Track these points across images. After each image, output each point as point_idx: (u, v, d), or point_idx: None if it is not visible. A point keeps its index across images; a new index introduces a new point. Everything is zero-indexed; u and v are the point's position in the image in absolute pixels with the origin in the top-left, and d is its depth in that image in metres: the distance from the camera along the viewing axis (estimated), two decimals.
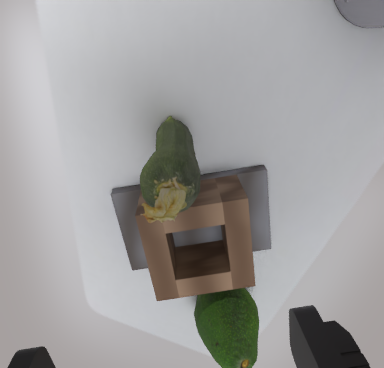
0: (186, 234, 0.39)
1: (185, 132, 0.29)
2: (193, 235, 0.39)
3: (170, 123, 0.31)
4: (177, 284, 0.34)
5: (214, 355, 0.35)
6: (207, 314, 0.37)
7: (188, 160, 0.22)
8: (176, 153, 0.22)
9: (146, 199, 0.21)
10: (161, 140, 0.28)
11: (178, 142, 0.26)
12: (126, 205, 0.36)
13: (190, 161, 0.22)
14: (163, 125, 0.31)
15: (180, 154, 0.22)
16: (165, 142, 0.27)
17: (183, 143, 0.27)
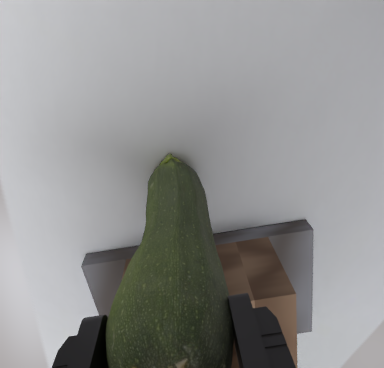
0: None
1: (195, 189, 0.18)
2: None
3: (170, 171, 0.19)
4: None
5: None
6: None
7: (210, 294, 0.10)
8: (183, 277, 0.10)
9: None
10: (154, 207, 0.17)
11: (185, 218, 0.15)
12: (105, 280, 0.25)
13: (214, 295, 0.10)
14: (158, 173, 0.19)
15: (192, 277, 0.10)
16: (161, 215, 0.15)
17: (193, 217, 0.15)
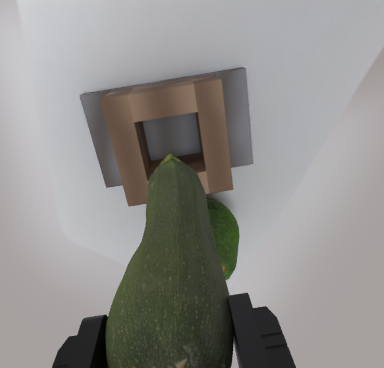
0: (162, 145, 0.36)
1: (195, 189, 0.18)
2: (170, 147, 0.36)
3: (170, 171, 0.19)
4: None
5: None
6: None
7: (209, 294, 0.10)
8: (183, 277, 0.10)
9: None
10: (154, 206, 0.17)
11: (185, 218, 0.15)
12: (97, 109, 0.34)
13: (213, 295, 0.10)
14: (158, 173, 0.19)
15: (192, 277, 0.10)
16: (161, 215, 0.15)
17: (193, 217, 0.15)
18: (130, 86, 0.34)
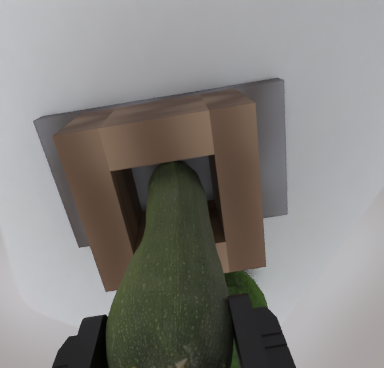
0: None
1: (195, 189, 0.18)
2: None
3: (170, 171, 0.19)
4: None
5: None
6: None
7: (209, 294, 0.10)
8: (183, 277, 0.10)
9: None
10: (155, 206, 0.17)
11: (185, 218, 0.15)
12: None
13: (213, 294, 0.10)
14: (159, 172, 0.19)
15: (192, 277, 0.10)
16: (161, 215, 0.15)
17: (193, 217, 0.15)
18: (110, 106, 0.23)
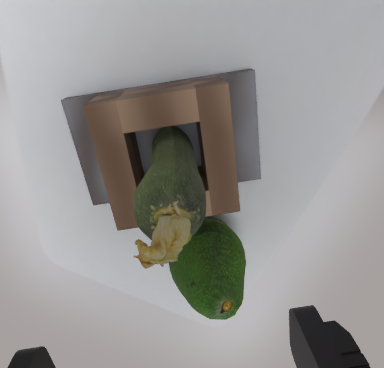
0: None
1: (185, 141, 0.26)
2: None
3: (167, 131, 0.27)
4: None
5: (189, 298, 0.28)
6: (182, 251, 0.30)
7: (191, 178, 0.18)
8: (177, 170, 0.18)
9: (141, 227, 0.17)
10: (158, 151, 0.24)
11: (178, 154, 0.23)
12: (81, 116, 0.29)
13: (194, 179, 0.18)
14: (160, 133, 0.27)
15: (181, 171, 0.18)
16: (162, 154, 0.23)
17: (183, 154, 0.23)
18: (120, 89, 0.30)
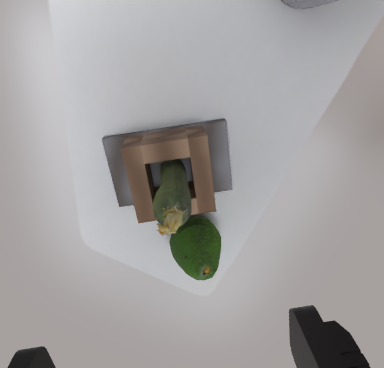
0: None
1: (181, 168, 0.42)
2: None
3: (170, 161, 0.43)
4: None
5: (183, 266, 0.44)
6: (179, 237, 0.46)
7: (183, 193, 0.34)
8: (176, 189, 0.34)
9: (157, 219, 0.33)
10: (164, 174, 0.41)
11: (177, 177, 0.39)
12: (114, 149, 0.46)
13: (185, 194, 0.34)
14: (165, 162, 0.43)
15: (178, 189, 0.34)
16: (167, 177, 0.39)
17: (180, 177, 0.39)
18: (140, 132, 0.46)
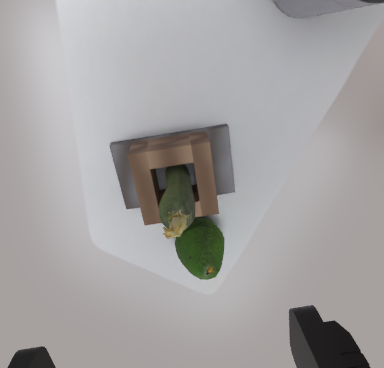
0: None
1: (185, 172, 0.44)
2: None
3: (175, 166, 0.45)
4: None
5: (188, 266, 0.46)
6: (184, 238, 0.48)
7: (187, 198, 0.36)
8: (180, 194, 0.36)
9: (163, 222, 0.35)
10: (169, 179, 0.43)
11: (181, 182, 0.41)
12: (121, 154, 0.48)
13: (189, 198, 0.36)
14: (170, 166, 0.45)
15: (183, 194, 0.36)
16: (172, 181, 0.41)
17: (184, 182, 0.41)
18: (145, 138, 0.48)
